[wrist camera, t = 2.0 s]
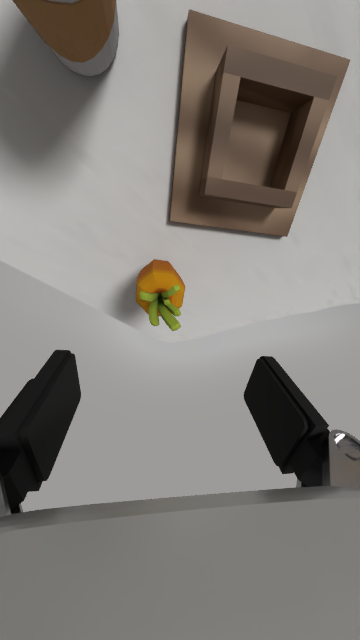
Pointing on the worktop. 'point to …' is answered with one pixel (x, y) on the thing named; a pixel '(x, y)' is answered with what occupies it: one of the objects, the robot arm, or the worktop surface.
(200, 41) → the walnut stand
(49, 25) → the coffee cup
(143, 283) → the carrot
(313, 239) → the worktop surface
